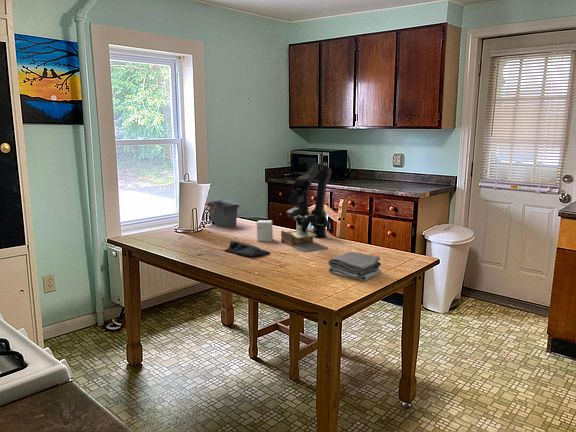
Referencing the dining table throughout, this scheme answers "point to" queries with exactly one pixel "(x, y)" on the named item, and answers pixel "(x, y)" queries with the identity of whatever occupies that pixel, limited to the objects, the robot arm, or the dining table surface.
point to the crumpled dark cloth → (245, 249)
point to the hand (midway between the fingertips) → (302, 231)
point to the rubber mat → (309, 247)
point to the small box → (264, 230)
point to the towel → (355, 265)
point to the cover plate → (300, 233)
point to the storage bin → (223, 212)
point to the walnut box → (294, 239)
